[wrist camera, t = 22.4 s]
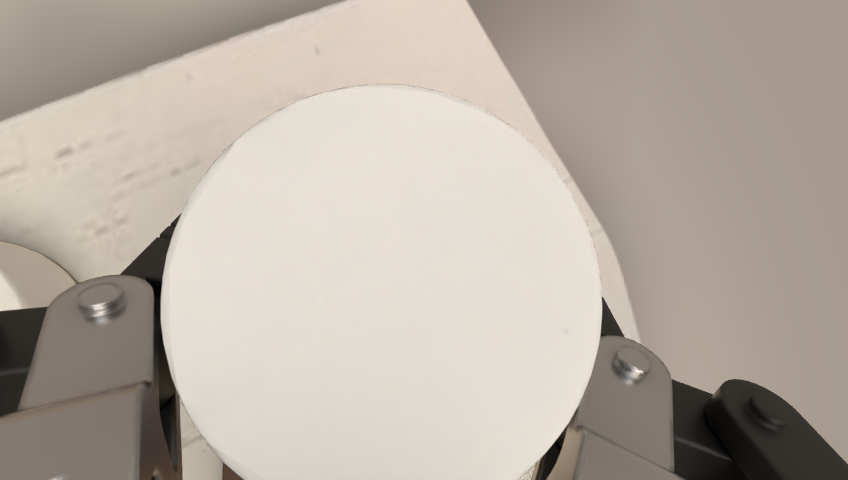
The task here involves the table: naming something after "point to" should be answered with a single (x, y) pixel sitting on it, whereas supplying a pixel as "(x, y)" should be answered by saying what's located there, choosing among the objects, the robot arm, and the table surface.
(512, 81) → the table surface
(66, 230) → the table surface
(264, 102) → the table surface
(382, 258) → the pill bottle
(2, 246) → the tape roll
